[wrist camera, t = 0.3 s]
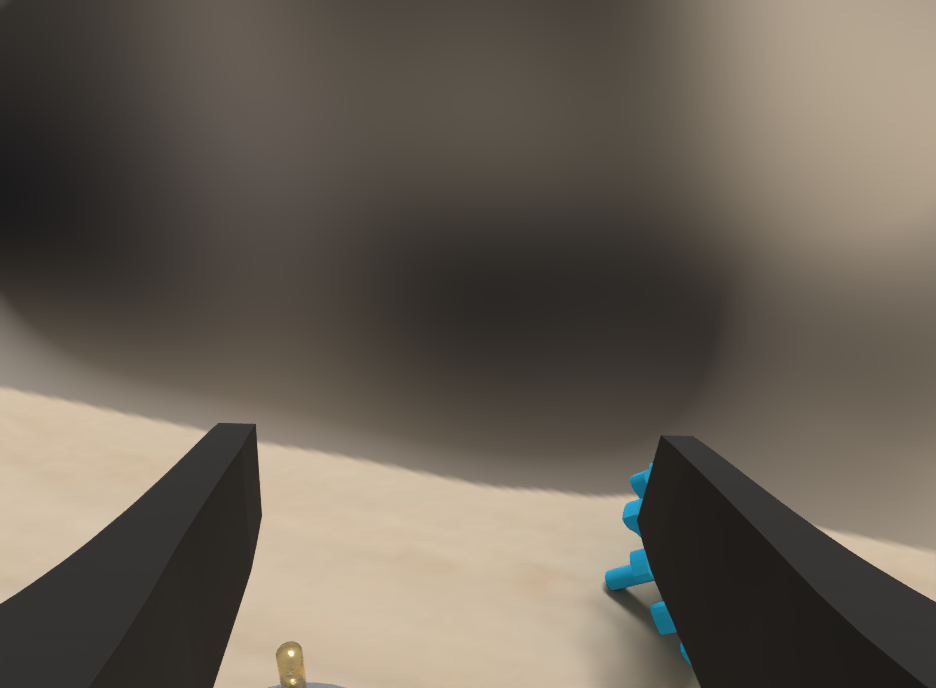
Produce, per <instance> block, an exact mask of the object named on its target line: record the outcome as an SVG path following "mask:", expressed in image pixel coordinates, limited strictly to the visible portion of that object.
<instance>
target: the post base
mask: <svg viewBox="0 0 936 688" xmlns="http://www.w3.org/2000/svg"><path fill="white" fill-rule="evenodd" d="M276 659H277V665H278V671H279V677H280V683H281V685H277V686H273V687H269V688H344V687H340V686H336V685H331V684H323V683H306V676H305V669H304V661H303V653H302V648H301V646H300V645H299V644H298V643H296V642H286V643H284V644H282V645H281V646H280V647H279V648H278V650H277V653H276Z"/></svg>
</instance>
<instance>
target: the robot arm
mask: <svg viewBox="0 0 936 688" xmlns="http://www.w3.org/2000/svg"><path fill="white" fill-rule="evenodd" d="M261 518H262V510H261V495H260V481H259V466H258V451H257V436H256V424H236V423H235V424H234V423H218V424H217V425H216V426H215V427H213V428H212V429H211V430H210V431H209V432H208V433H207V434H206V435H205V436H204V437H203V438H202V439H201V440H200V441H199V442H198V443H197V444H196V445H195V446H194V447H193V448H192V449H191V450H190V451H189V452H188V453H187V454H186V455H185V456H184V457H183V458H182V459H181V460H180V461H179V462H178V463H177V464H176V465H175V466H174V467H172V468H171V469H170V470H169V471H168V472H167V473H166V474H165V475H164V476H163V477H162V478H161V479H160V480H159V481H158V482H157V483H155V484H154V485H153V486H152V487H151V488H150V489H149V490H148V491H147V492H146V493H145V494H144V495H143V496H141V497H140V498H139V499H138V500H137V501H136V502H135V503H134V504H133V505H131V506H130V507H129V508H128V509H127V510H126V511H125V512H123V513H122V514H121V515H120V516H119V517H117V518H116V519H115V520H114V521H113V522H111V523H110V524H109V525H108V526H107V527H105V528H104V529H103V530H102V531H101V532H99V533H98V534H97V535H96V536H95V537H94V538H92V539H91V540H90V541H89V542H87V543H86V544H85V545H84V546H82V547H81V548H80V549H78V550H77V551H76V552H75V553H73V554H72V555H71V556H69V557H68V558H67V559H65V560H64V561H63V562H61V563H60V564H59V565H57V566H56V567H54V568H53V569H52V570H50V571H49V572H47V573H46V574H45V575H43V576H42V577H40V578H39V579H37V580H36V581H35V582H33V583H32V584H30V585H29V586H27V587H26V588H24V589H23V590H21V591H20V592H19V593H17V594H16V595H14V596H12V597H11V598H9V599H8V600H6V601H4V602H3V603H1V604H0V688H213V686H214V683H215V680H216V677H217V674H218V671H219V668H220V665H221V662H222V659H223V656H224V653H225V650H226V647H227V644H228V641H229V638H230V635H231V632H232V629H233V625H234V622H235V619H236V616H237V613H238V610H239V607H240V604H241V601H242V598H243V595H244V592H245V588H246V585H247V582H248V579H249V576H250V573H251V569H252V564H253V559H254V554H255V550H256V545H257V539H258V534H259V529H260V523H261ZM637 523H638V527H639V531H640V535H641V538H642V542H643V546H644V550H645V553H646V556H647V560H648V563H649V566H650V570H651V572H652V575H653V577H654V580H655V582H656V585H657V587H658V589H659V592H660V594H661V596H662V599H663V601H664V603H665V606H666V608H667V610H668V613H669V615H670V617H671V619H672V622H673V624H674V626H675V629H676V631H677V633H678V635H679V638H680V640H681V642H682V645H683V647H684V649H685V651H686V654H687V656H688V658H689V661H690V663H691V665H692V668H693V670H694V672H695V674H696V677H697V679H698V681H699V684H700V686H701V688H936V602H935V601H933V600H931V599H929V598H928V597H926V596H924V595H922V594H920V593H919V592H917V591H915V590H913V589H912V588H910V587H908V586H907V585H905V584H903V583H902V582H900V581H898V580H897V579H895V578H893V577H892V576H890V575H888V574H887V573H885V572H883V571H882V570H880V569H878V568H877V567H875V566H873V565H872V564H870V563H868V562H867V561H865V560H864V559H862V558H860V557H859V556H857V555H856V554H854V553H853V552H851V551H850V550H848V549H847V548H845V547H844V546H842V545H841V544H839V543H838V542H836V541H835V540H833V539H832V538H831V537H829V536H828V535H826V534H825V533H823V532H822V531H820V530H819V529H817V528H816V527H814V526H813V525H812V524H810V523H809V522H807V521H806V520H805V519H803V518H802V517H801V516H799V515H798V514H796V513H795V512H793V511H792V510H791V509H790V508H788V507H787V506H786V505H784V504H783V503H781V502H780V501H779V500H777V499H776V498H775V497H774V496H772V495H771V494H770V493H768V492H767V491H766V490H764V489H763V488H762V487H760V486H759V485H758V484H756V483H755V482H754V481H752V480H751V479H750V478H749V477H747V476H746V475H745V474H743V473H742V472H741V471H740V470H738V469H737V468H735V467H734V466H733V465H731V464H730V463H729V462H728V461H727V460H725V459H724V458H723V457H721V456H720V455H719V454H717V453H716V452H715V451H713V450H712V449H711V448H709V447H708V446H706V445H705V444H704V443H702V442H701V441H699V440H698V439H696V438H695V437H693V436H666V435H661V437H660V440H659V444H658V448H657V451H656V454H655V458H654V461H653V465H652V468H651V472H650V475H649V479H648V482H647V486H646V489H645V493H644V496H643V500H642V504H641V507H640V511H639V514H638V518H637Z"/></svg>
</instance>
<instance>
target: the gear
mask: <svg viewBox="0 0 936 688" xmlns="http://www.w3.org/2000/svg"><path fill="white" fill-rule="evenodd" d="M652 465H653V463H651V464H650V469H649V470H646V471H643V472H641V473H638V474H635V475H633V476H632V477H631V478H630V482H631V485H632V488H633V489H634V491H635V492H636V494H637V495H638V496H639V498H640V499H638V500H635V501H632V502H629V503H627V504H626V505H625V508H624V512H623V518H622V519H623V521H624V523H625V525H626V526H627V527H628V528H629V529H630V530H632V531H634V532H635V533H637V534H638V535H639V536H640V537H641V535H640V531H639V527H638V523H637V518H638V514H639V511H640V507H641V504H642V500H643V496H644V493H645V489H646V486H647V482H648V479H649V475H650V472H651V468H652ZM630 563H631V565H628V566H624V567H620V568H616V569H613V570H609V571H607V572H606V574H605V580H606V583H607V586H608V587H609V588H610V589H611V590H618V589H622V588H626V587H630V586H634V585H638V584H642V583H646V582H651V581H655V580H654V577H653V575H652V572H651V570H650V566H649V563H648V560H647V556H646V553H645V550H644V549H640V550H637V551H633V552H630ZM650 611H651V614H652V617H653V620H654V622H655V625H656V627H657V629H658V631H659V633H660V634H661V635H664V634H670V633H675V632H677V631H676V629H675V626H674V624H673V622H672V619H671V617H670V615H669V613H668V610H667V608H666V606H665V603H664V601H662V602H657V603H653V604H652V605H651V607H650ZM680 650H681V653H682V655H683V657H684V658H685V660H686V661H687V662H688V663H689V665H690V666H691V667H692V665H691V663H690V661H689V658H688V656H687V654H686V651H685V649H684V647H683V645H682V642H681V644H680Z"/></svg>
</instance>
